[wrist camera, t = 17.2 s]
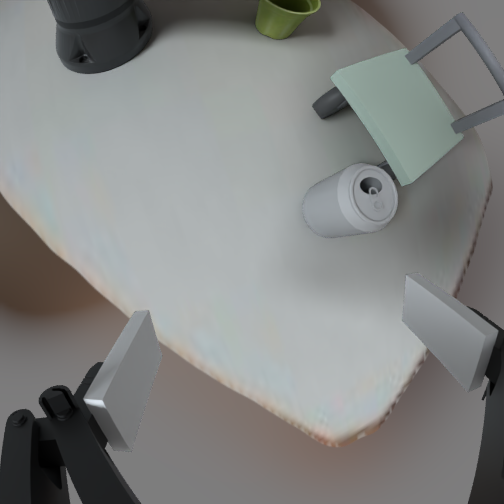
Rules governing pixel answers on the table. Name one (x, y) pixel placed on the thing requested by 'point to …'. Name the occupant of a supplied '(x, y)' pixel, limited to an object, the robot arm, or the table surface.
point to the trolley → (409, 103)
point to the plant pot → (283, 16)
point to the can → (351, 202)
